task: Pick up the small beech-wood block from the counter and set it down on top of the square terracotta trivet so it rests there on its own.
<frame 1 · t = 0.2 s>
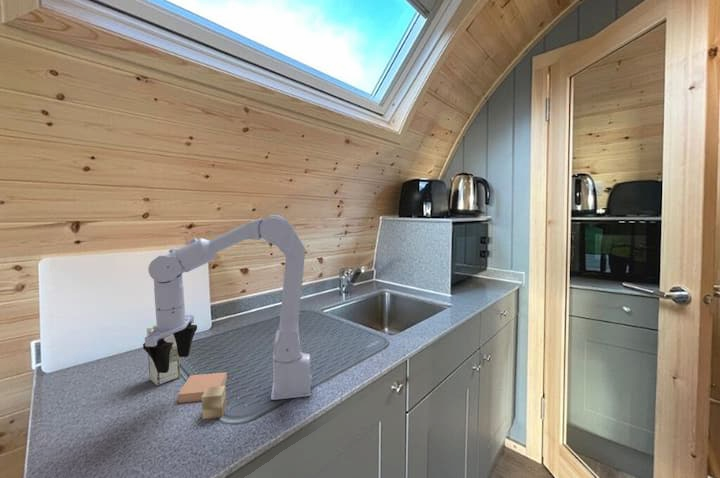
hand: (173, 363, 75), 10 cm above the worktop, fingers open, 7 cm apart
beech block: (214, 412, 73), on the worktop
trivet: (204, 392, 82), on the worktop
syrup box: (165, 379, 87), on the worktop
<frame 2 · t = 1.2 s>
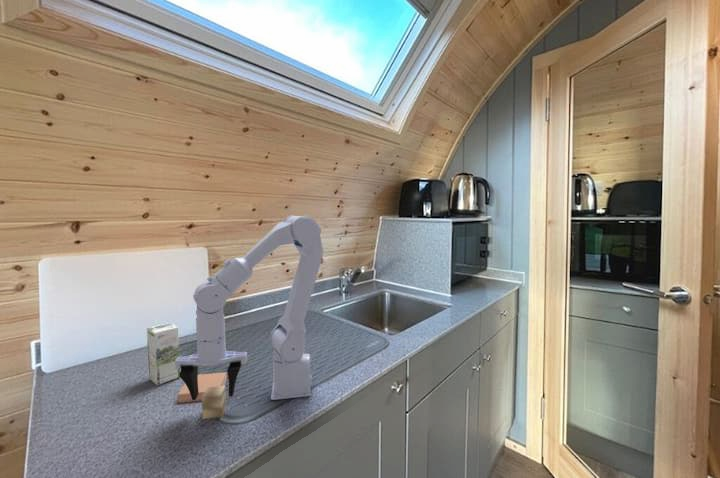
hand: (213, 395, 72), 4 cm above the worktop, fingers open, 7 cm apart
nothing on the worktop moved.
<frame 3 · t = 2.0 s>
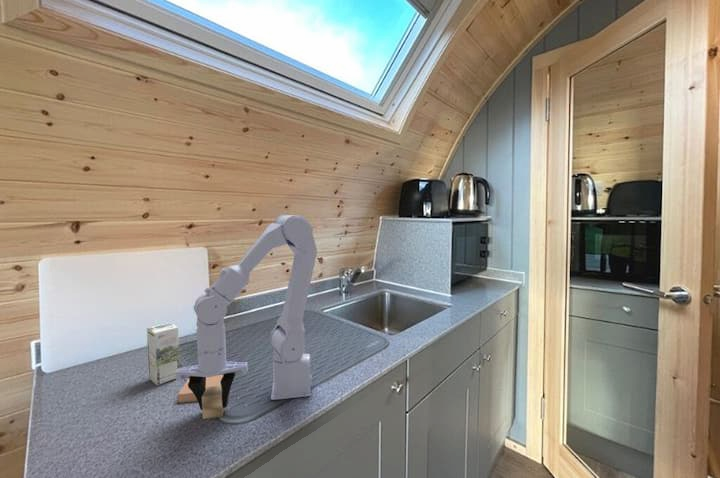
hand: (214, 406, 73), 1 cm above the worktop, fingers closed on beech block, 4 cm apart
beech block: (214, 412, 73), on the worktop, touching gripper
everything else where it was.
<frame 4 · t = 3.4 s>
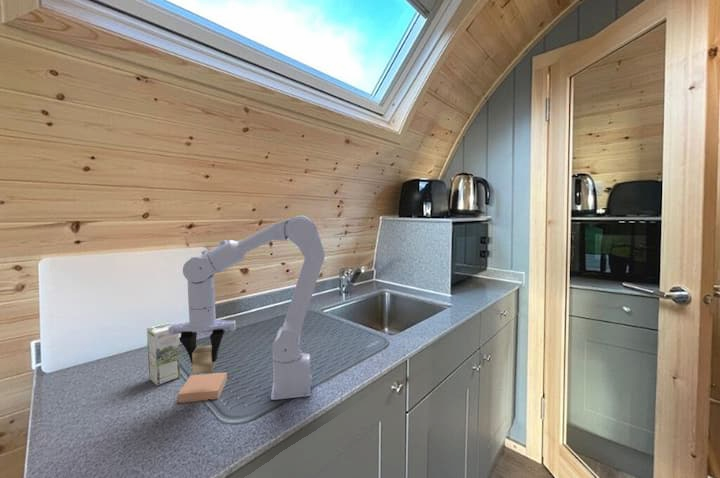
hand: (204, 360, 78), 9 cm above the worktop, fingers closed on beech block, 4 cm apart
beech block: (204, 368, 78), point 7 cm above the worktop, touching gripper
everything else where it was.
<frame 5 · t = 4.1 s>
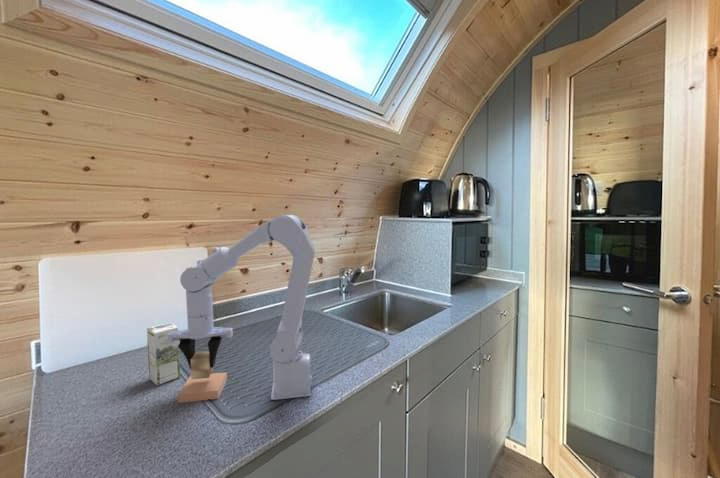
hand: (202, 366, 81), 6 cm above the worktop, fingers closed on beech block, 4 cm apart
beech block: (202, 374, 81), point 4 cm above the worktop, touching gripper
everything else where it was.
when the fingers open (5 cm above the worktop, at t = 4.7 s): beech block drops 1 cm, point 2 cm above the worktop.
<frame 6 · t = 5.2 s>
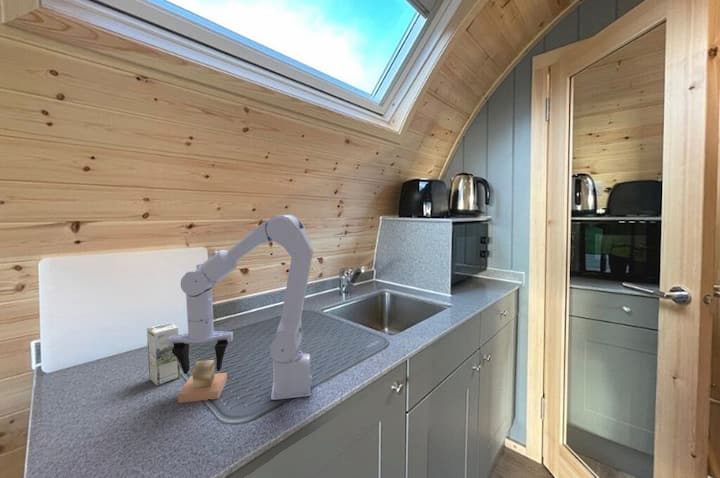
hand: (203, 370, 81), 5 cm above the worktop, fingers open, 7 cm apart
beech block: (204, 383, 81), point 2 cm above the worktop
everything else where it was.
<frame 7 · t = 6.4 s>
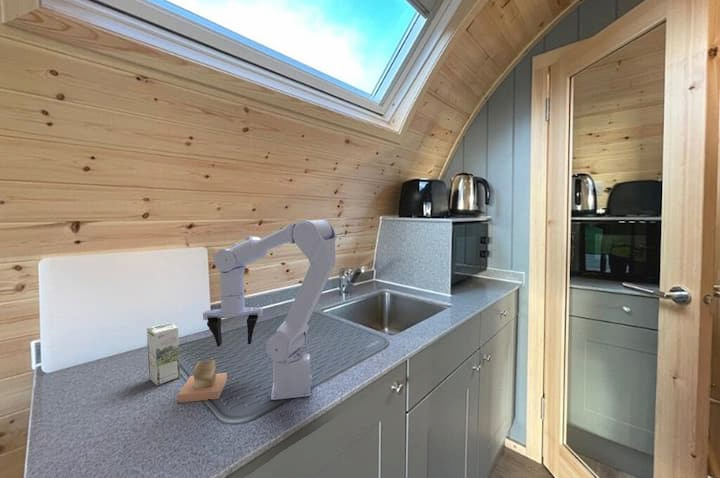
hand: (234, 343, 86), 10 cm above the worktop, fingers open, 7 cm apart
beech block: (205, 383, 81), point 2 cm above the worktop, touching trivet
trivet: (204, 392, 82), on the worktop, touching beech block
everything else where it was.
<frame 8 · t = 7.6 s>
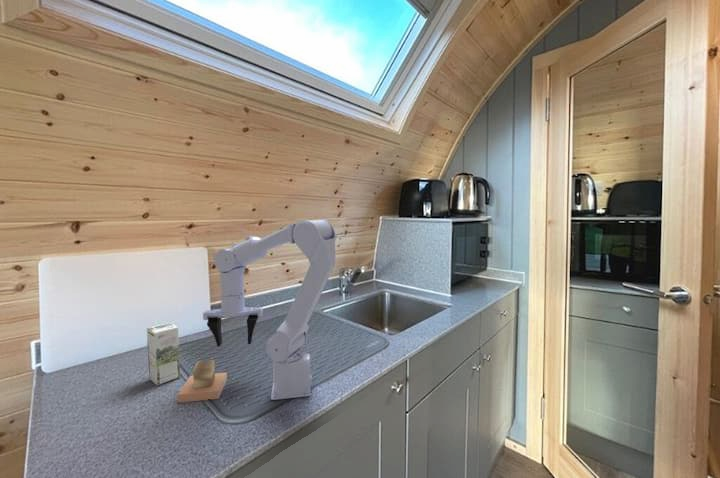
hand: (234, 343, 86), 10 cm above the worktop, fingers open, 7 cm apart
nothing on the worktop moved.
at the end: beech block 0.3 cm off-centre on the trivet, point 2.5 cm above the trivet's base; beech block tilted 0°; the gripper is holding nothing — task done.
